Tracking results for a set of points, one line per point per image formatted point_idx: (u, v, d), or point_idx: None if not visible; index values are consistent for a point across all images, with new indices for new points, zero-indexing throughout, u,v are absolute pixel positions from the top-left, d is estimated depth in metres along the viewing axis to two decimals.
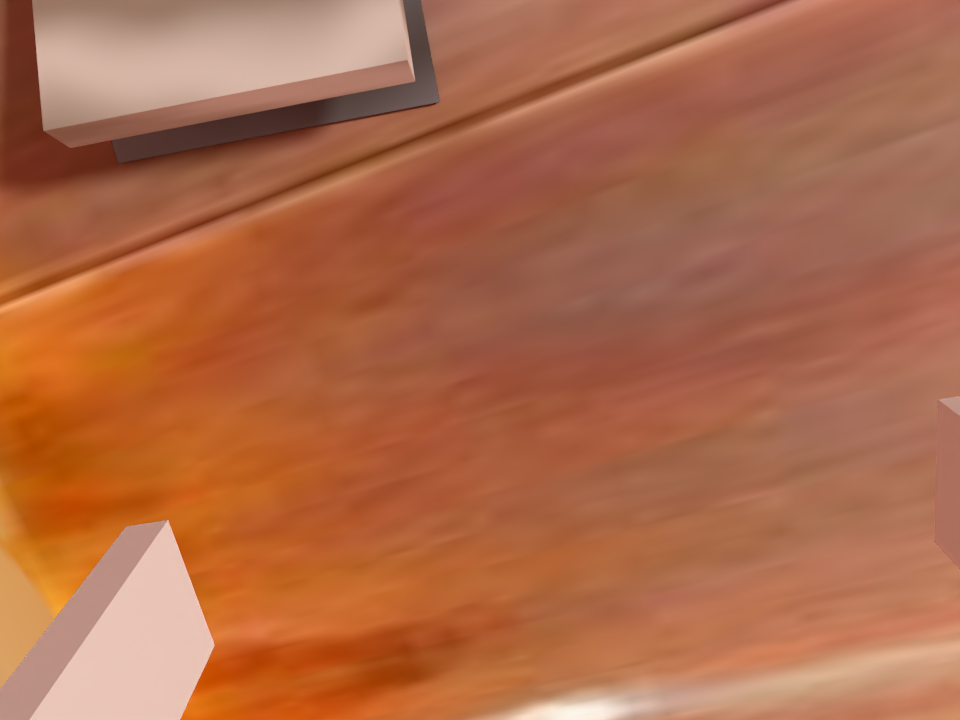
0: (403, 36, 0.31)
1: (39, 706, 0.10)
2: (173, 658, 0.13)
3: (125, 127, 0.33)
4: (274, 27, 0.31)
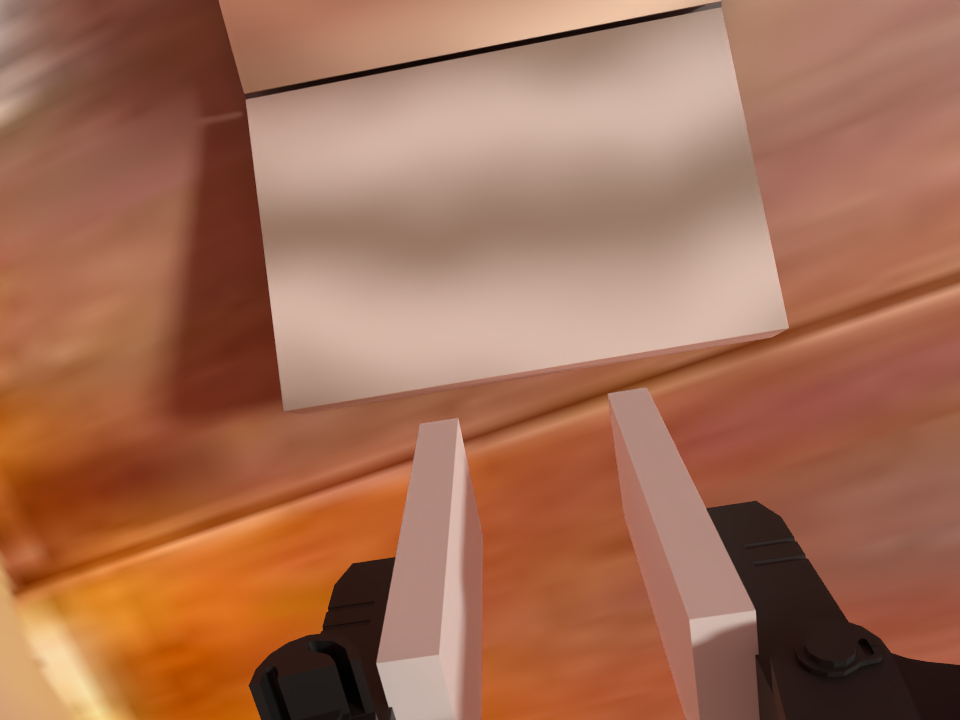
0: (779, 293, 0.23)
1: (446, 541, 0.11)
2: (474, 535, 0.15)
3: (385, 397, 0.24)
4: (599, 276, 0.23)
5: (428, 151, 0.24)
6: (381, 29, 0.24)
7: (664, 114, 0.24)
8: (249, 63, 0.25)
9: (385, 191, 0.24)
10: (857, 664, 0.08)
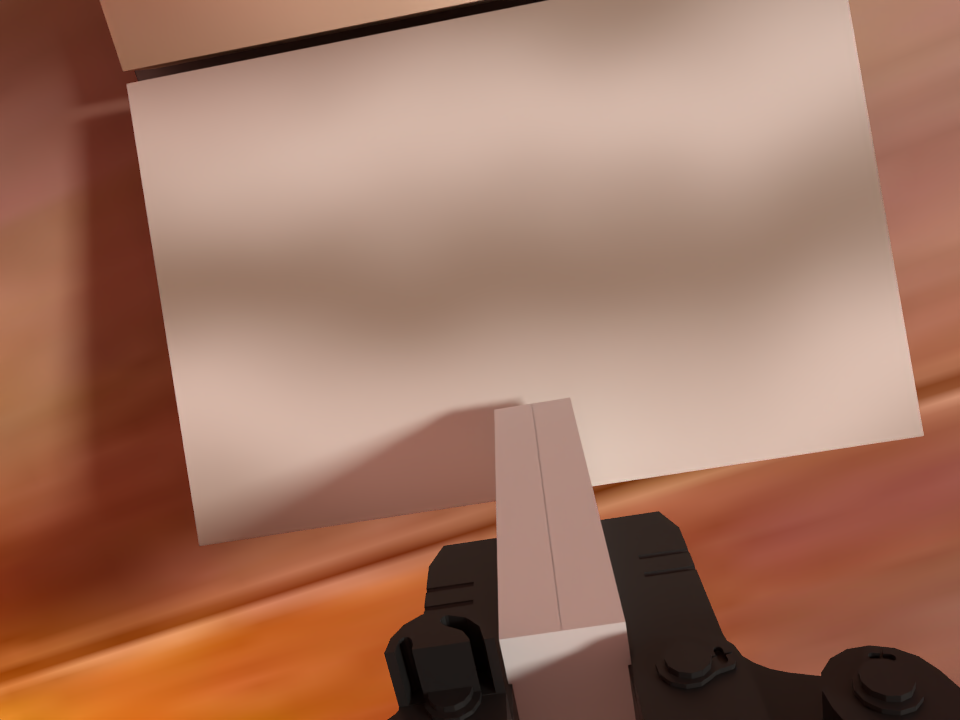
0: (910, 383, 0.16)
1: (545, 522, 0.11)
2: None
3: None
4: (648, 356, 0.16)
5: (398, 164, 0.16)
6: None
7: (749, 111, 0.16)
8: (128, 25, 0.17)
9: (336, 226, 0.17)
10: (713, 673, 0.08)
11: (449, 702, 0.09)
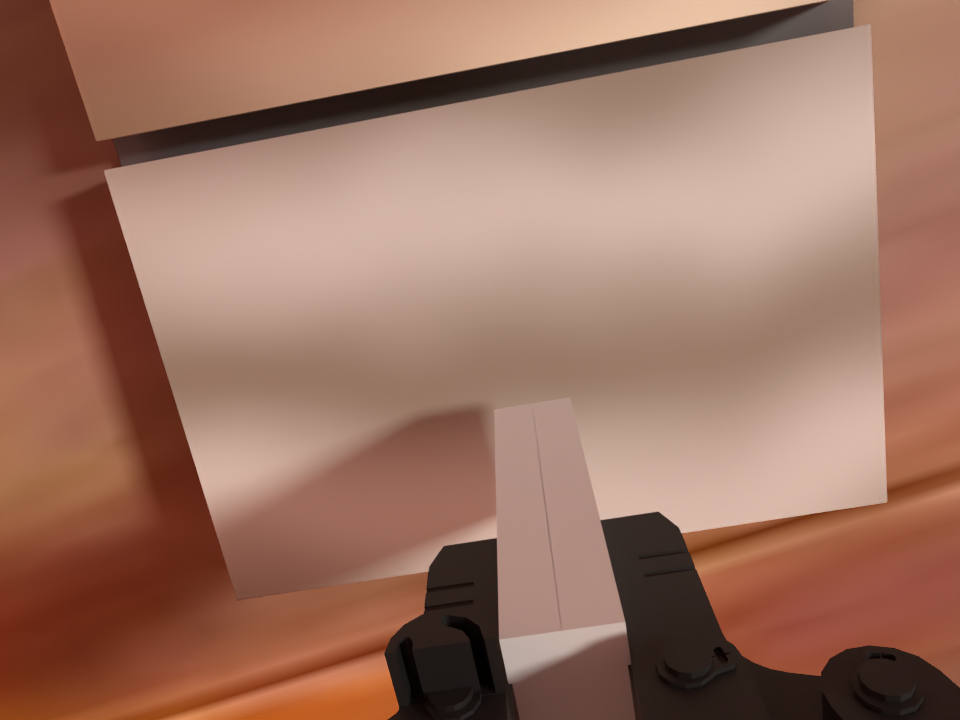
0: None
1: (545, 522, 0.11)
2: None
3: None
4: (647, 438, 0.17)
5: (403, 259, 0.16)
6: (313, 38, 0.15)
7: (760, 207, 0.16)
8: (102, 93, 0.15)
9: (343, 319, 0.17)
10: (713, 673, 0.08)
11: (449, 702, 0.09)
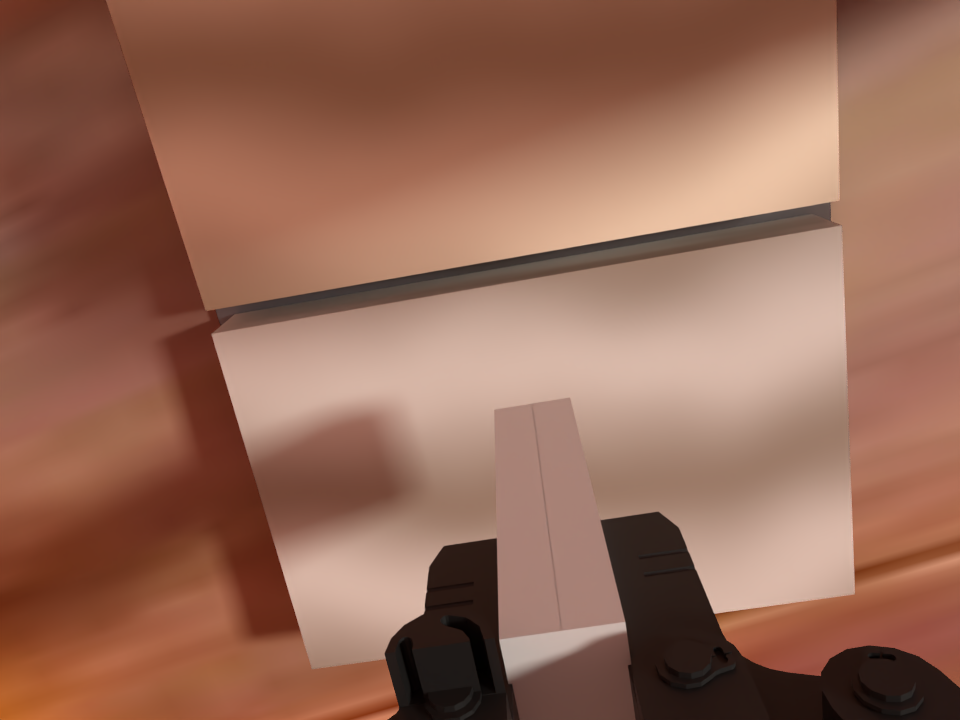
0: (850, 558, 0.21)
1: (545, 522, 0.11)
2: None
3: None
4: None
5: (456, 403, 0.20)
6: (386, 234, 0.18)
7: (750, 364, 0.19)
8: (212, 275, 0.19)
9: (405, 449, 0.20)
10: (713, 673, 0.08)
11: (449, 702, 0.09)
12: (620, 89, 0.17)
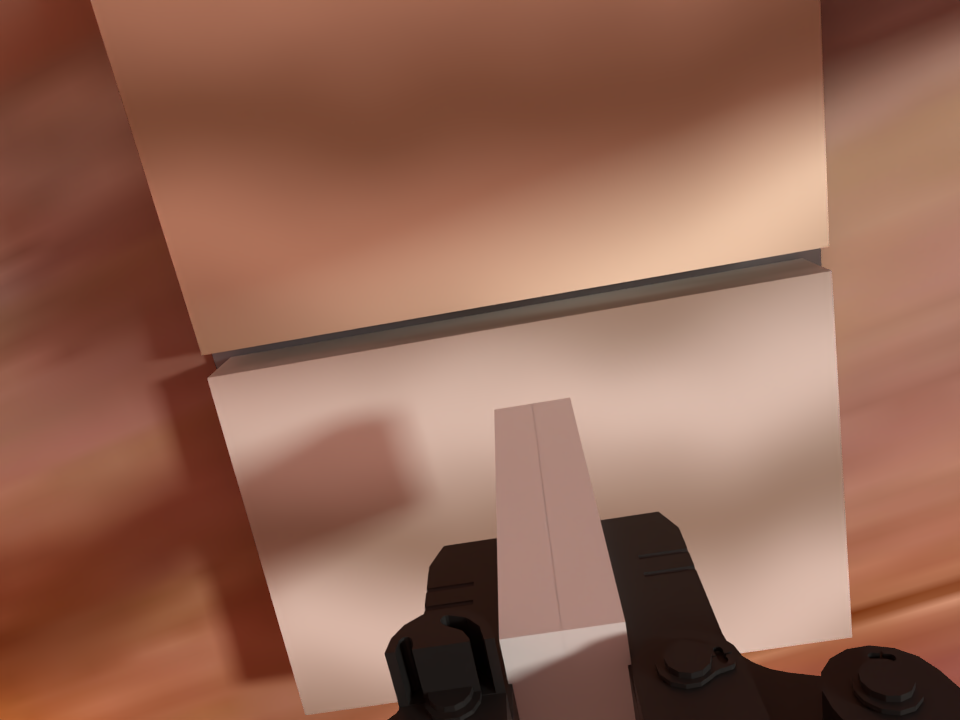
0: (847, 600, 0.21)
1: (545, 522, 0.11)
2: None
3: None
4: None
5: (451, 446, 0.20)
6: (381, 279, 0.18)
7: (743, 408, 0.19)
8: (208, 319, 0.19)
9: (401, 493, 0.20)
10: (713, 673, 0.08)
11: (449, 702, 0.09)
12: (612, 139, 0.17)
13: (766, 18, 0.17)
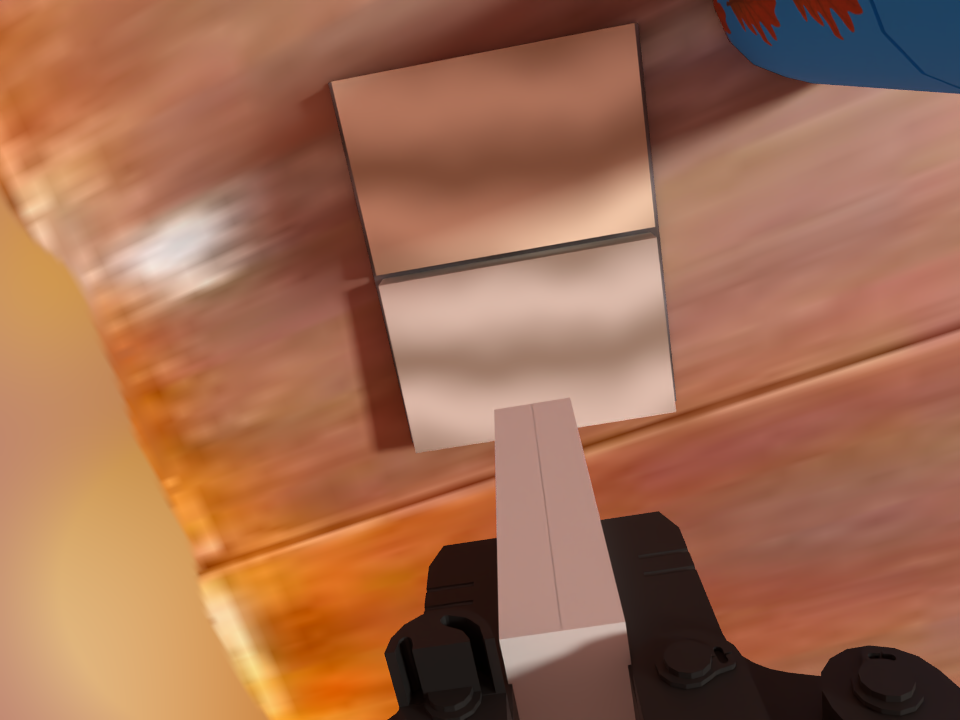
0: (673, 394, 0.44)
1: (545, 522, 0.11)
2: None
3: None
4: (581, 386, 0.44)
5: (488, 318, 0.43)
6: (458, 241, 0.42)
7: (620, 300, 0.43)
8: (380, 259, 0.42)
9: (464, 340, 0.43)
10: (713, 673, 0.08)
11: (449, 702, 0.09)
12: (559, 180, 0.41)
13: (622, 131, 0.40)
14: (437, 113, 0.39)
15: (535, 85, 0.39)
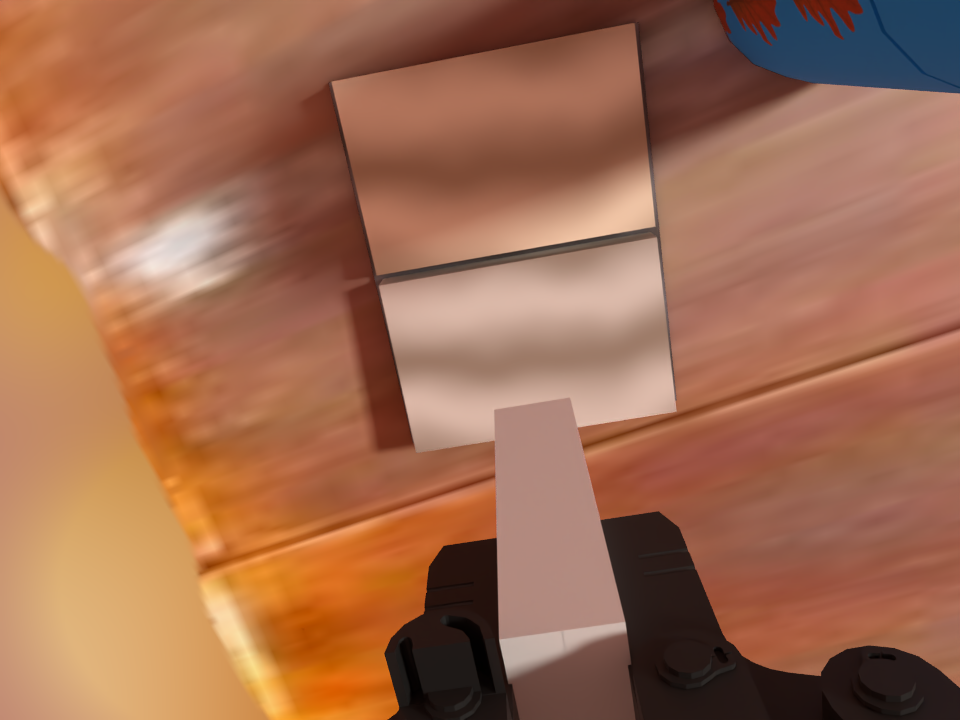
0: (673, 393, 0.44)
1: (545, 522, 0.11)
2: None
3: None
4: (581, 386, 0.44)
5: (488, 317, 0.43)
6: (458, 241, 0.42)
7: (621, 299, 0.43)
8: (381, 259, 0.42)
9: (464, 340, 0.43)
10: (713, 673, 0.08)
11: (450, 702, 0.09)
12: (559, 180, 0.41)
13: (622, 131, 0.40)
14: (437, 113, 0.39)
15: (535, 85, 0.39)
